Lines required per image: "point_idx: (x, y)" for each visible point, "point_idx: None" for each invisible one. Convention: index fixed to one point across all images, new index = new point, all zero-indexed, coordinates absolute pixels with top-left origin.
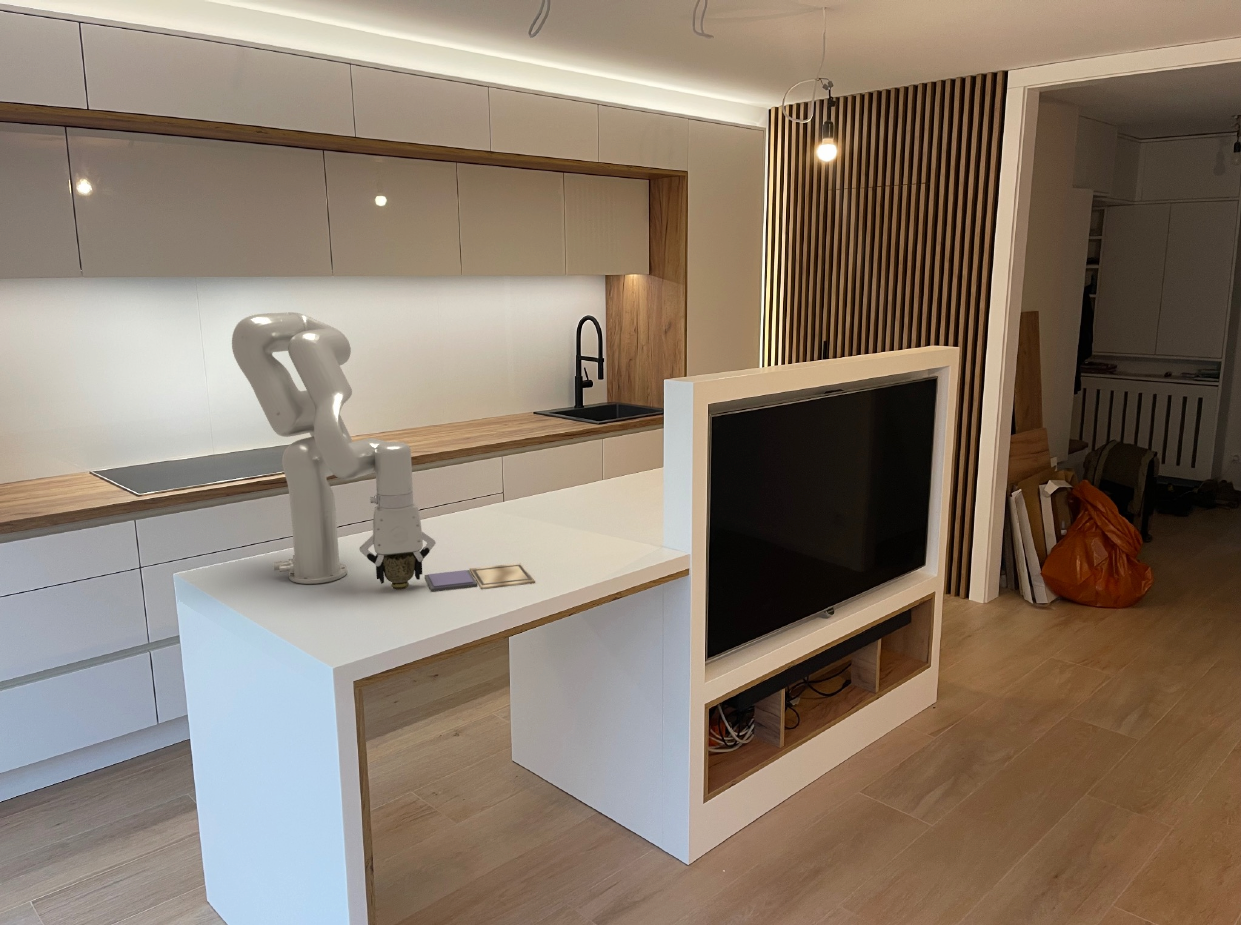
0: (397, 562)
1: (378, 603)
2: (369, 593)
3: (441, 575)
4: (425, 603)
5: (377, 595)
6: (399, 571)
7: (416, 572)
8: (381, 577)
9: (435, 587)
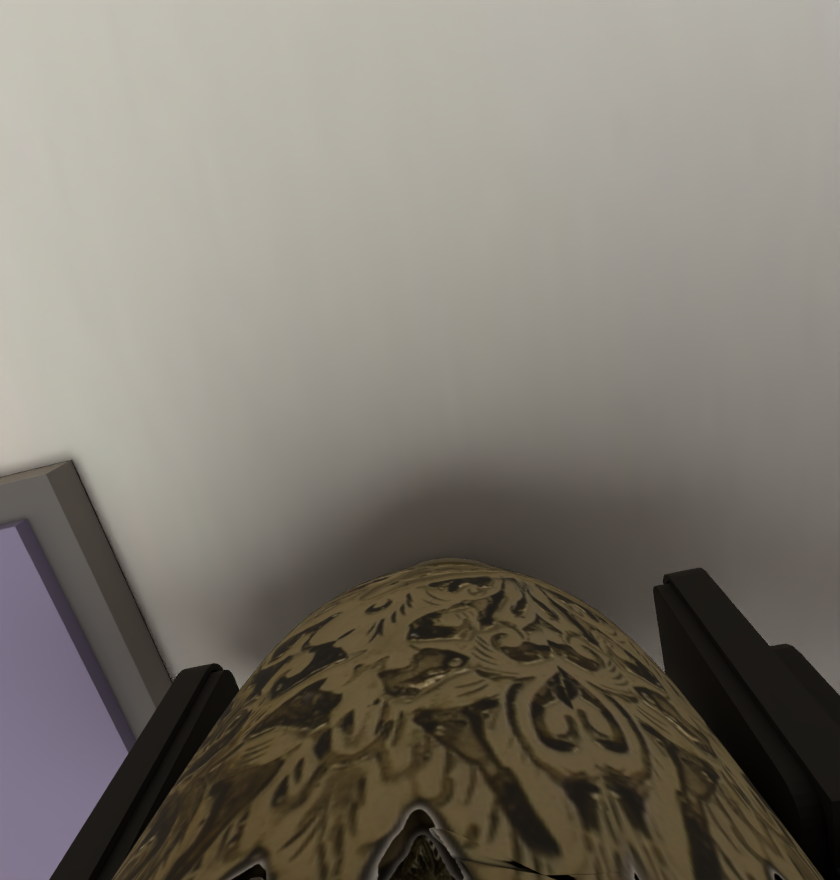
0: (438, 796)
1: (678, 83)
2: (794, 494)
3: (42, 836)
4: (15, 7)
5: (697, 414)
6: (410, 628)
7: (181, 740)
8: (732, 617)
9: (5, 512)
